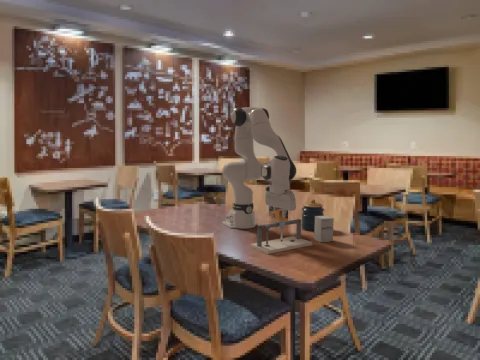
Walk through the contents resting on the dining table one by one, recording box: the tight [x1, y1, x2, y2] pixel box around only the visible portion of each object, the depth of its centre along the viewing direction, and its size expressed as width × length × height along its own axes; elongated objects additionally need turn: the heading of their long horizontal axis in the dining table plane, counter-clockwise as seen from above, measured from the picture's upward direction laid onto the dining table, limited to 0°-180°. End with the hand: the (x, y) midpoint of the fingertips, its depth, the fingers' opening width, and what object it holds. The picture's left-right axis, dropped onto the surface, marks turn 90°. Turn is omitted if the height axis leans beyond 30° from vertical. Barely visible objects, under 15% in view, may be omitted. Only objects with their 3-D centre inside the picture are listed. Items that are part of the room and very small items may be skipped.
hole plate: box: [249, 218, 313, 255], centre depth 197 cm, size 14×28×12 cm, turn 123°
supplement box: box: [313, 215, 335, 243], centre depth 207 cm, size 7×7×13 cm
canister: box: [301, 198, 325, 232], centre depth 233 cm, size 13×13×18 cm
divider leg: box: [274, 208, 286, 242], centre depth 197 cm, size 4×4×16 cm
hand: (280, 216), depth 197 cm, fingers closed on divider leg, 3 cm apart
